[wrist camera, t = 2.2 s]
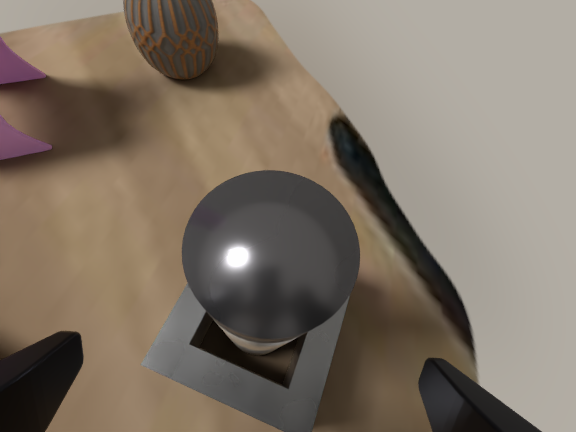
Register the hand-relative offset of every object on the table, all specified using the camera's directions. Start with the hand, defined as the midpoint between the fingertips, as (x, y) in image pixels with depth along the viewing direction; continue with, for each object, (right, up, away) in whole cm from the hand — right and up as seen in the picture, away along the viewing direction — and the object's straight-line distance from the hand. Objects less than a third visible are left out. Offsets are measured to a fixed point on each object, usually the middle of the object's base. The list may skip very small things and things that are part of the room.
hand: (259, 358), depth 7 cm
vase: (-9, +17, +19) cm, 27 cm away
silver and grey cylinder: (-1, -3, +9) cm, 10 cm away
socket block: (-1, -3, +9) cm, 10 cm away
